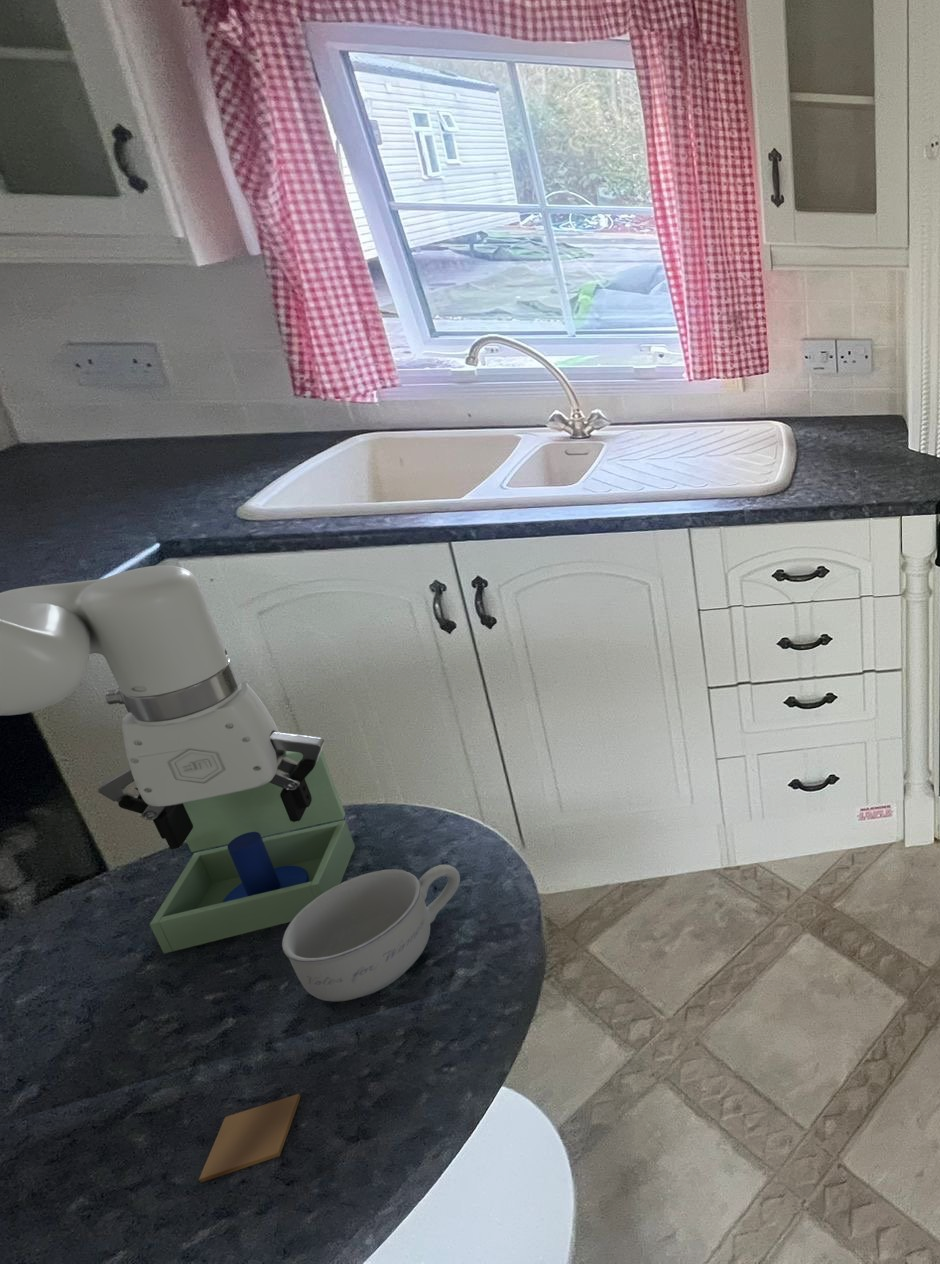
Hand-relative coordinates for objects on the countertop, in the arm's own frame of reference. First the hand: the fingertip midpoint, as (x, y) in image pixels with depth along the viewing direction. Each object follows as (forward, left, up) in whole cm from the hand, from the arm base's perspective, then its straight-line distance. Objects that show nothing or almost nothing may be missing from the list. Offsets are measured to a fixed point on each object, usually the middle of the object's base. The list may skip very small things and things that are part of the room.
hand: (243, 825), depth 86 cm
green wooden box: (0, 0, -10) cm, 10 cm away
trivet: (+7, -29, -10) cm, 31 cm away
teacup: (+14, -13, -11) cm, 22 cm away
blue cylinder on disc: (0, 0, -10) cm, 10 cm away
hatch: (0, +4, 0) cm, 4 cm away
